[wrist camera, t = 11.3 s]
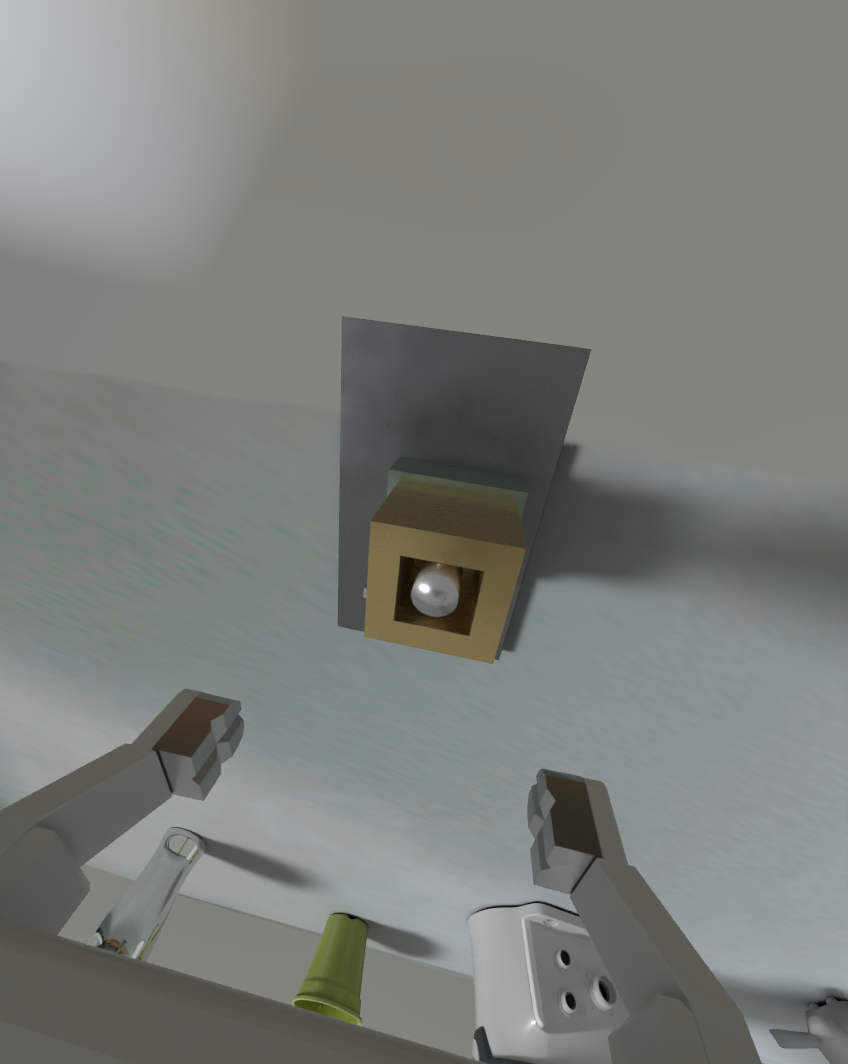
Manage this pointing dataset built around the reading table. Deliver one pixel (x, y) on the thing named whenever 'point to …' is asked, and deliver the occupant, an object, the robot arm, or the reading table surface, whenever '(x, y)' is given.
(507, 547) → the tan square sleeve
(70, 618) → the reading table surface
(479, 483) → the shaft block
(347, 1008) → the plant pot
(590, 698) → the reading table surface
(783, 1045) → the grey chunky knobbed piece
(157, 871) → the beer glass
